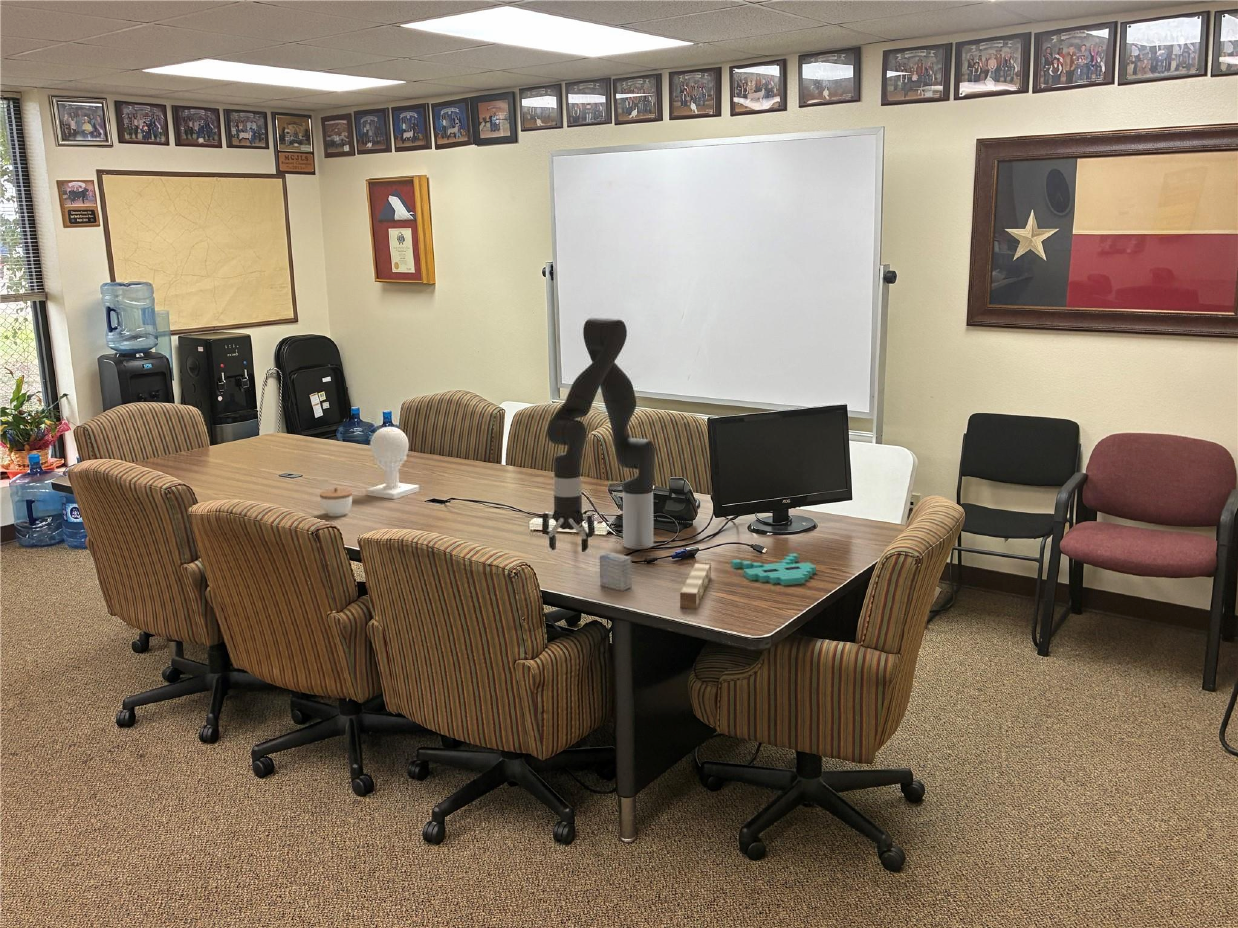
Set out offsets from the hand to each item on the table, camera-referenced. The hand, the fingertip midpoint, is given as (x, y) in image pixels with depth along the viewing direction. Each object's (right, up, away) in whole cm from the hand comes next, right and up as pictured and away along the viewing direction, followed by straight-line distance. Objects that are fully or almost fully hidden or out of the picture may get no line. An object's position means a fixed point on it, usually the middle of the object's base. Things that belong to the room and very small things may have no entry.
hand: (568, 550), depth 284 cm
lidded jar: (-83, +6, +76) cm, 113 cm away
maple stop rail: (+34, -11, -6) cm, 36 cm away
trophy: (-70, +13, +104) cm, 126 cm away
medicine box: (+13, -10, -1) cm, 16 cm away
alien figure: (+58, -8, +9) cm, 60 cm away
